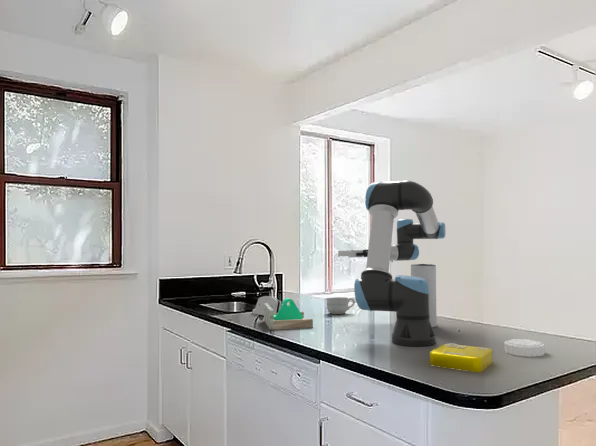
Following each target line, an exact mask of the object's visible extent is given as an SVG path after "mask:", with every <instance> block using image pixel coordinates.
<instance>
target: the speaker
mask: <svg viewBox="0 0 596 446" xmlns="http://www.w3.org/2000/svg"><path fill="white" fill-rule="evenodd" d="M410 276H413V277H419V278H423V279H425V280H427V281H428V284H429V292H430V294H429V309H430V323H431V326H432V328H436V327H437V326H438V325H437V324H438V323H437V322H438V320H437V319H438V318H437V266H436V264H433V263H432V264H431V263H430V264H429V263H428V264H426V263H417V264H416V263H415V264H410Z"/></svg>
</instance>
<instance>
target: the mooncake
mask: <svg viewBox="0 0 596 446" xmlns="http://www.w3.org/2000/svg"><path fill="white" fill-rule="evenodd" d="M503 345H504V346H503V348H504V352H505V353H506V354H509V355H513V356H519V357H528V358H529V357H541V356H542V357H543V356H544V355H546V345H545V344H544V342H543V343H542V342H541V341H538V340H533V339H528V338H513V339H509V340H505V341H504V342H503Z"/></svg>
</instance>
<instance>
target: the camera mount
mask: <svg viewBox="0 0 596 446" xmlns="http://www.w3.org/2000/svg"><path fill="white" fill-rule="evenodd" d="M281 303H282V304H281V308H280V310H279V311H278V313H277V315H274V320H296V319H303V316H302V314H301V312H302V311H300V309H299V308H298V306H297V305H296V303H295V302H294V300H293V299H291V298H289V297H287V298H286V297H285V298H284V299H283V300H282V302H281ZM288 303H289V304H288Z"/></svg>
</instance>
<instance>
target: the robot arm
mask: <svg viewBox="0 0 596 446" xmlns="http://www.w3.org/2000/svg"><path fill="white" fill-rule="evenodd" d="M364 198H365V203H364V204H365V208H366V210H367V211H368V214H369V215H370V216H371V223H370V232H369V238H368V239H369V240H368V241H369V242H368V249H360V250H354V249H353V250H352V249H349V250H348V249H347V250H337V255H338V257H348V258H366V267H365V270H363V271H361V272H360V278H359V277H358V278H356V279H355V280H354V283H353V284H354V285H353V286H354V288H353V289H354V291H353V292H354V300H355V303H356V305H357V307H358V309H360V310H361V311H370V312H372V311H375V312H393V313H394V312H395V314H396V321H395V323H394V324H395V325H394V327H393V331H392V333H391V342H392V343H393V344H396V345H400V346H406V347H407V346H408V347H427V346H433V345H434V344H436V335H435V331H434V329H433V328H434V327H433V328H432V326H431V323H430V309H429V294H430V292H429V284H428V281H427V280H425V279H423V278H419V277H413V276H411V275H402V274H398V275H396V276H395V277H394V278H393V275H392V274H391V273H390V263H394V261H395V262H396V261H400V262H401V261H414V260H417V259H418V258H419V256H420V250H419V246H418V245H417V244H415V243H414V240H438V239H440V240H441V239H444V238H446V223H445V222H443V221H442V222H440V221H439V220H438V217H437V215H436V212H435V209H434V207H433V205H434V200H433V196H432V194H431V193H430V191H429V190H428V189H427V188H426V187H425V186H423V185H422V184H420V183H417V182H416V181H412V180H396V181H395V180H394V181H377V182H372V183H370V184H369V185H368V187H367V189H366V191H365V197H364ZM403 210H404V211H405V210H407V211H409V210H411V211H412V212H413V213H415V215H416V217H417V220H418V222H414V220H413V219H412V218H408V219H407V218H400V219H397V221H396V242H397V243H396V244H392V241H393V231H394V230H393V229H394V219H395V218H397V217H398V215H399V211H403Z"/></svg>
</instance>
